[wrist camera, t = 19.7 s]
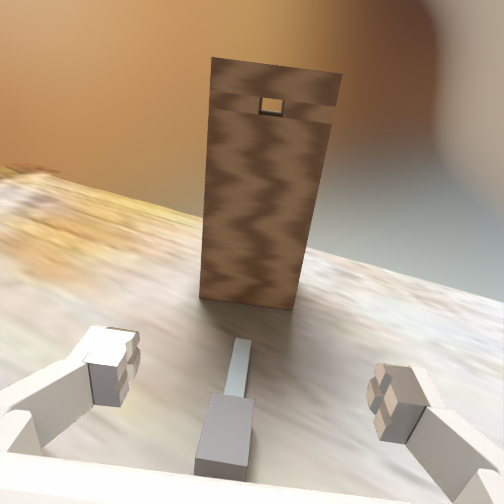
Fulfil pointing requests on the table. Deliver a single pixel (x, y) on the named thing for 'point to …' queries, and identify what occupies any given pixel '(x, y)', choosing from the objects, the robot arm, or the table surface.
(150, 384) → the table surface
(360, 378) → the table surface
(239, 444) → the grey stepped bar
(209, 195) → the post
